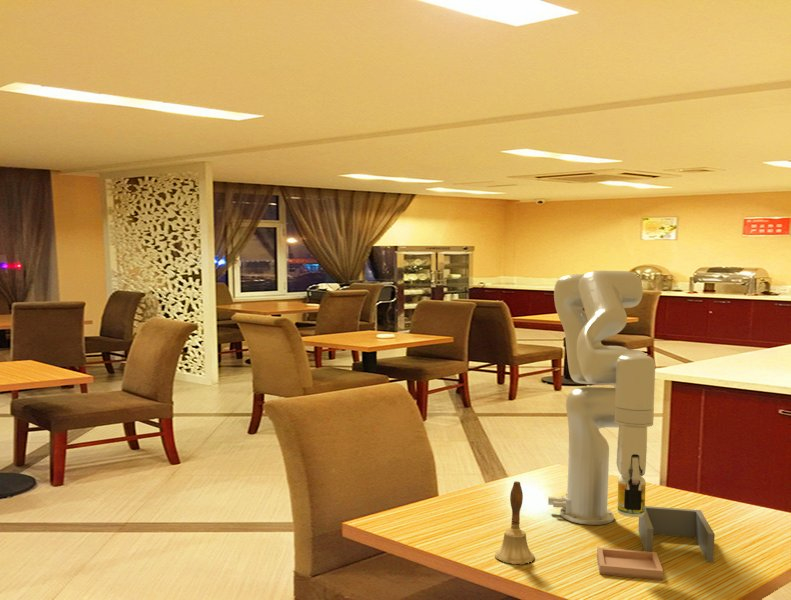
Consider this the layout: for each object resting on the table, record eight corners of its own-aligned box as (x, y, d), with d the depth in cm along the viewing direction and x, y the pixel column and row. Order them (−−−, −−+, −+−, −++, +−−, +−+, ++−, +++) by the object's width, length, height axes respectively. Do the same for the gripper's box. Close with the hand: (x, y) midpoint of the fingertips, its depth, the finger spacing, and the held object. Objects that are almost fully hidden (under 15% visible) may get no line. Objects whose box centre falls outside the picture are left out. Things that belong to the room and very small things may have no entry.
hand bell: (492, 549, 169) (494, 476, 168) (531, 550, 169) (533, 477, 168) (496, 564, 161) (498, 487, 160) (537, 565, 160) (539, 488, 160)
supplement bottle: (636, 508, 163) (637, 462, 162) (649, 517, 158) (651, 469, 157) (612, 510, 162) (613, 463, 161) (625, 518, 156) (627, 470, 156)
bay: (646, 556, 166) (647, 528, 166) (638, 531, 182) (639, 505, 181) (713, 562, 164) (714, 534, 163) (699, 536, 179) (700, 510, 179)
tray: (599, 574, 157) (600, 565, 156) (596, 555, 166) (597, 547, 166) (662, 580, 154) (663, 571, 154) (656, 560, 164) (656, 552, 164)
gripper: (611, 407, 168) (608, 491, 169) (618, 423, 151) (615, 516, 152) (648, 409, 166) (645, 493, 167) (659, 426, 149) (655, 519, 150)
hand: (631, 503), depth 159 cm, fingers closed on supplement bottle, 5 cm apart
